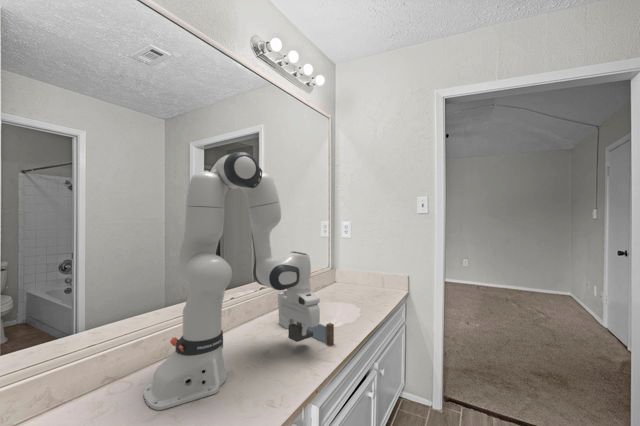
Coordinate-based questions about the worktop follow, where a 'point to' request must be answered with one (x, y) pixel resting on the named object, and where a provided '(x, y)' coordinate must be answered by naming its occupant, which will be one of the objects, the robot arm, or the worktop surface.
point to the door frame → (327, 333)
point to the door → (318, 331)
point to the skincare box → (282, 319)
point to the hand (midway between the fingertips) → (297, 332)
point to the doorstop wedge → (298, 333)
